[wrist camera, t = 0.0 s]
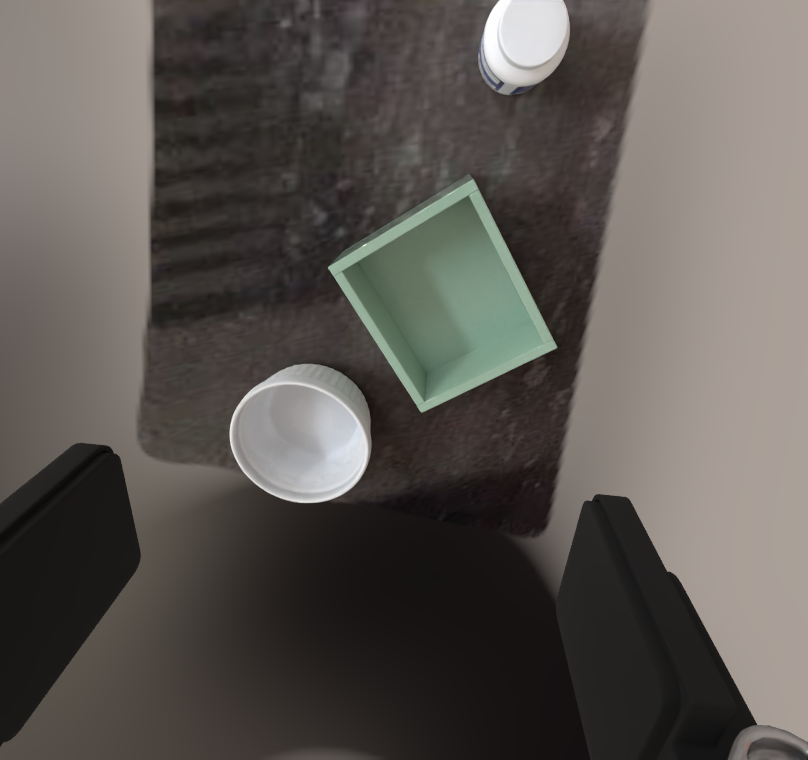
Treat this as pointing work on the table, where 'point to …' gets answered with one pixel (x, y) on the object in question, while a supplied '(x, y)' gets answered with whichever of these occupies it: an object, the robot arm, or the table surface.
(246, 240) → the table surface
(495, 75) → the pill bottle
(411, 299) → the green open box
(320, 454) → the ramekin
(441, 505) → the table surface
